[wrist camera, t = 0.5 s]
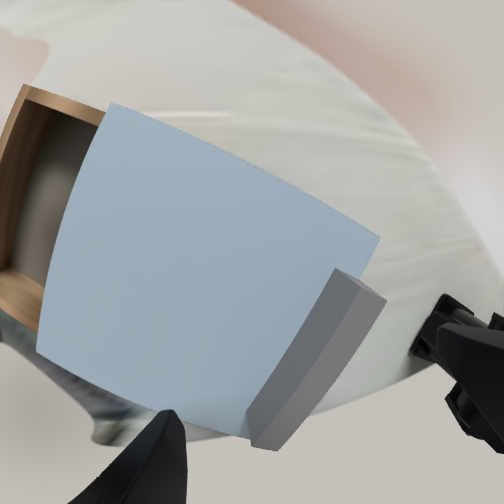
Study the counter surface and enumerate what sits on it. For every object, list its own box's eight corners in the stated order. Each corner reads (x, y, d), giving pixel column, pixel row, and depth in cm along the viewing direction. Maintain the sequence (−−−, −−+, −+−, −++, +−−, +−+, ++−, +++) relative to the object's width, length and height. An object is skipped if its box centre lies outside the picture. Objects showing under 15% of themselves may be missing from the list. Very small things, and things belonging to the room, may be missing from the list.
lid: (372, 234, 15) (413, 250, 11) (249, 429, 18) (256, 473, 14) (118, 106, 12) (86, 84, 8) (42, 343, 15) (13, 377, 11)
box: (225, 170, 19) (227, 165, 14) (146, 344, 21) (131, 383, 16) (59, 100, 16) (23, 83, 11) (6, 266, 18) (-29, 284, 13)
